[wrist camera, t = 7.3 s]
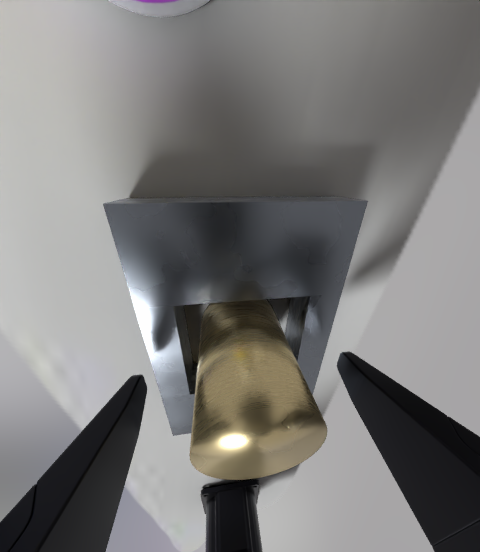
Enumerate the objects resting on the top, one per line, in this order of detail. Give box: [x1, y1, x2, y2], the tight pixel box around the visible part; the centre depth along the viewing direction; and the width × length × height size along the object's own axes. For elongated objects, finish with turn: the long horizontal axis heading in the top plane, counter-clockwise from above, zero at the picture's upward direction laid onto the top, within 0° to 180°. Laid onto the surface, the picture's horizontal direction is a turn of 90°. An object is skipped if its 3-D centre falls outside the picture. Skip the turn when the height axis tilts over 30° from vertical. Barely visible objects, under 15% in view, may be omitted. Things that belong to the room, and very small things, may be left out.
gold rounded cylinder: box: [190, 299, 327, 480], centre depth 9 cm, size 4×4×6 cm
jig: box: [103, 196, 368, 436], centre depth 11 cm, size 14×9×2 cm, turn 0°
